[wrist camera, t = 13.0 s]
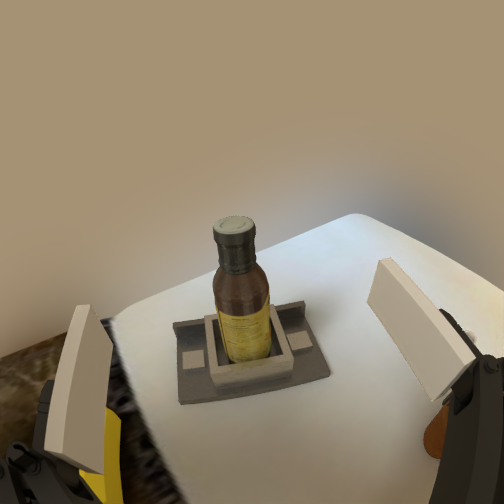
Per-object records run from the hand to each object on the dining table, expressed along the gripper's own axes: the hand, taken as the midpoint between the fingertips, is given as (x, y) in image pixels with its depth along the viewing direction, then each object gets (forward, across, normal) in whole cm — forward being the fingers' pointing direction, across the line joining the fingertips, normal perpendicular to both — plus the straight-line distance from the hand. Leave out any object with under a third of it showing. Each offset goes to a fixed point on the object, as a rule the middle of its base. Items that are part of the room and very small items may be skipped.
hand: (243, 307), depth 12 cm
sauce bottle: (+14, +2, -24) cm, 28 cm away
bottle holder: (+14, +2, -25) cm, 29 cm away
